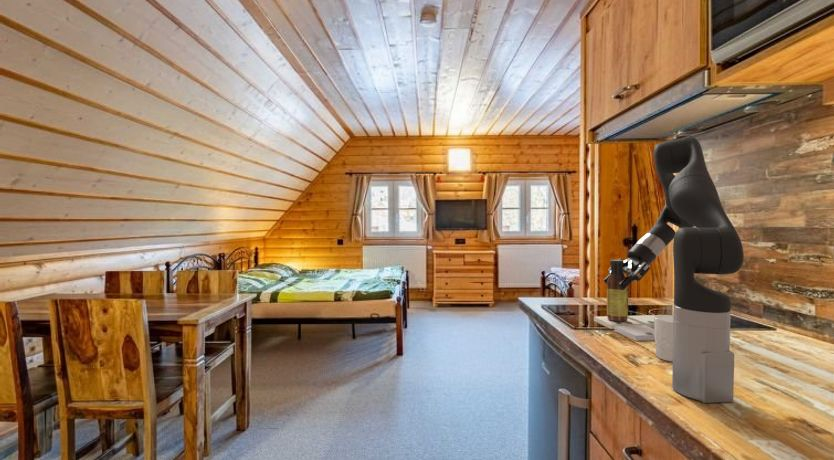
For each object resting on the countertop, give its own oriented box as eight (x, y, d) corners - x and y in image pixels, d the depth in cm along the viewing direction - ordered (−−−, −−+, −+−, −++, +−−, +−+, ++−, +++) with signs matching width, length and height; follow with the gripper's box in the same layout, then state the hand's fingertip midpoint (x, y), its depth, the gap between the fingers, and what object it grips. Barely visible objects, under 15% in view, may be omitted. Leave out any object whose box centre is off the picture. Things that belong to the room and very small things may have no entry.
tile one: (667, 339, 113) (668, 333, 113) (635, 340, 113) (635, 334, 112) (644, 330, 123) (644, 324, 123) (614, 330, 122) (614, 325, 122)
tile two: (640, 328, 125) (640, 322, 125) (610, 329, 124) (611, 323, 124) (621, 320, 135) (621, 315, 135) (593, 320, 134) (593, 316, 134)
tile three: (675, 327, 127) (675, 322, 126) (646, 328, 126) (646, 322, 126) (654, 319, 136) (654, 314, 136) (626, 320, 136) (627, 315, 135)
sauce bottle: (631, 322, 126) (632, 261, 126) (612, 322, 126) (613, 261, 126) (621, 317, 133) (622, 259, 132) (602, 317, 133) (603, 259, 132)
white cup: (690, 356, 100) (691, 317, 99) (690, 366, 93) (691, 324, 93) (654, 350, 104) (655, 313, 104) (652, 359, 98) (653, 319, 97)
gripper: (625, 241, 137) (593, 274, 136) (653, 243, 123) (618, 280, 122) (639, 256, 138) (608, 289, 137) (669, 260, 123) (634, 297, 123)
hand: (613, 285), depth 129 cm, fingers open, 8 cm apart
